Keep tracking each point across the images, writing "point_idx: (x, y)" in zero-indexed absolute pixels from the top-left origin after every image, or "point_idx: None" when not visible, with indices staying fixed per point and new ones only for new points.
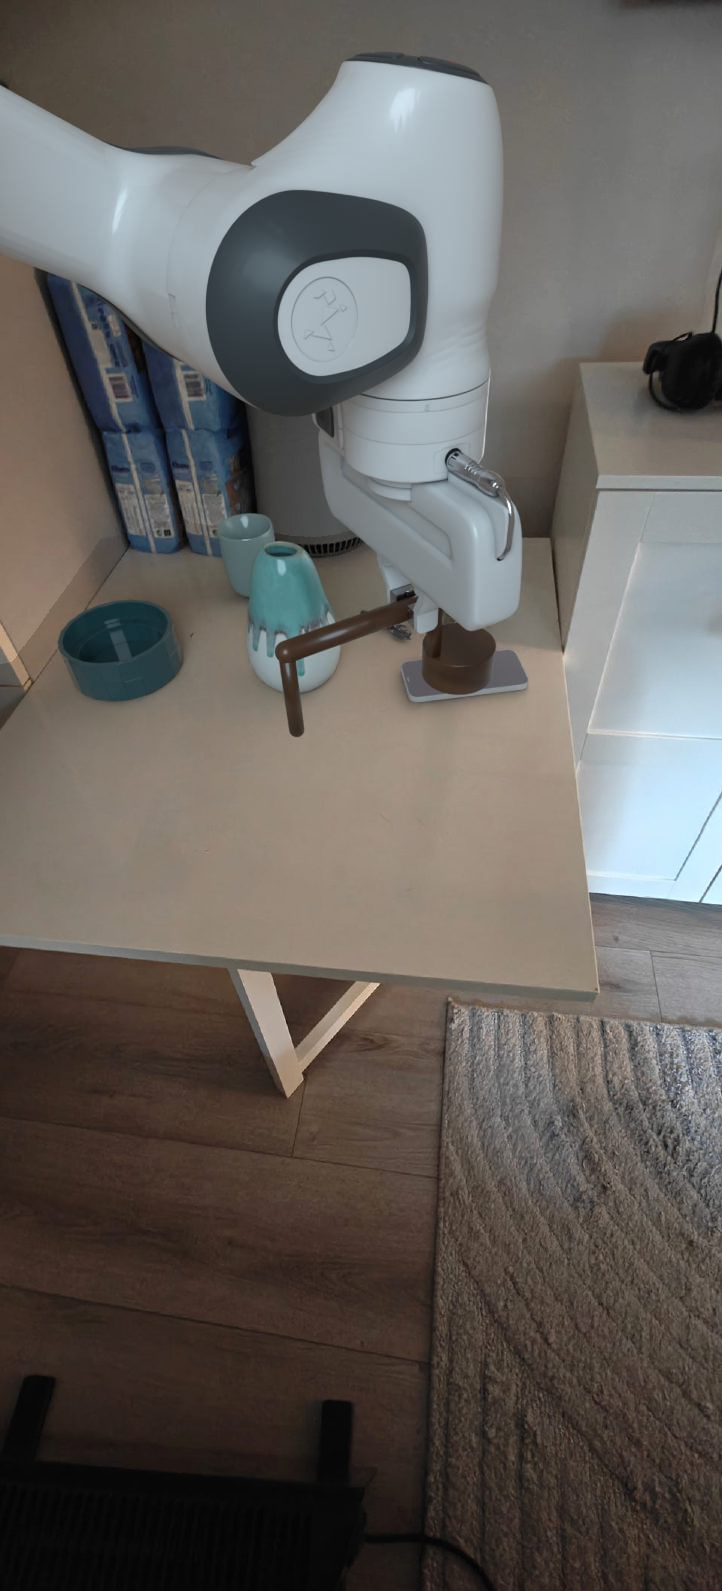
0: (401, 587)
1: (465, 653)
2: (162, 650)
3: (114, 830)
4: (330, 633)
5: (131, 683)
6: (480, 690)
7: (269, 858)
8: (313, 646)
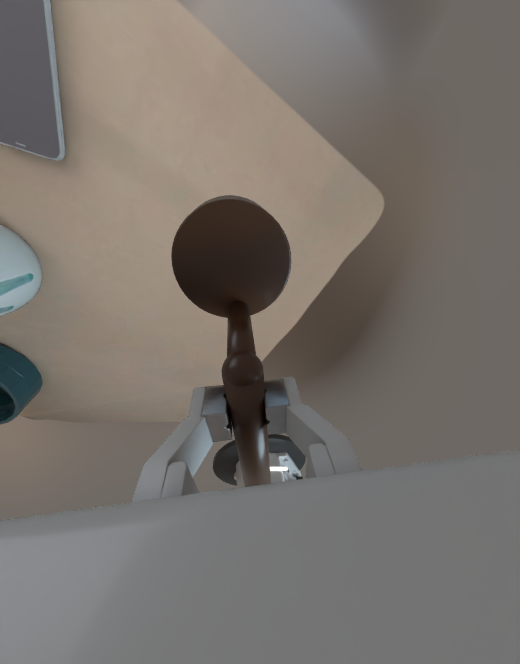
0: (209, 428)
1: (261, 271)
2: None
3: (166, 390)
4: None
5: (29, 381)
6: (50, 48)
7: (216, 331)
8: None
